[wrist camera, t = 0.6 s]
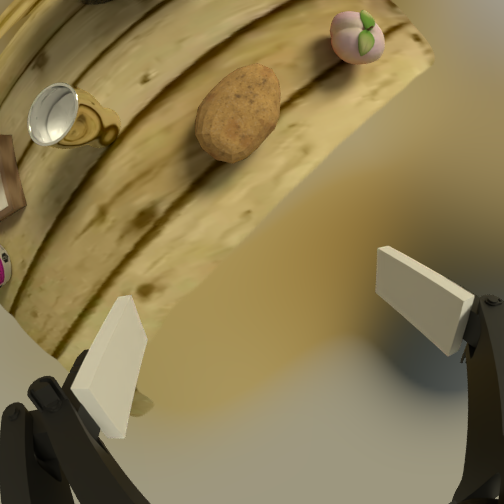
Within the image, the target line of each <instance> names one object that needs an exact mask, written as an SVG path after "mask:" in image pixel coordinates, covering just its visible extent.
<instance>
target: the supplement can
mask: <svg viewBox="0 0 504 504" xmlns="http://www.w3.org/2000/svg"><path fill="white" fill-rule="evenodd" d="M11 272H12V271H11V261H10V258H9V255H8V253H7V251H6V250H5V249H4V248H3V246H2V245H0V287H2V286H3V285H4V284H6V283H7V282H8V281H9V279H10V277H11Z"/></svg>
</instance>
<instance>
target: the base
mask: <svg viewBox="0 0 504 504" xmlns="http://www.w3.org/2000/svg"><path fill="white" fill-rule="evenodd" d="M26 205H27V204H26V200H25V197H24V193H23V189H22V185H21V181H20V177H19V173H18V168H17V164H16V159H15V153H14V148H13V142H12V135H0V222H1V221H2V220H4V219H5V218H7V217H8V216H10V215H11V214H13V213H15V212H16V211H18V210H19V209H21V208H23V207H24V206H26Z"/></svg>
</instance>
